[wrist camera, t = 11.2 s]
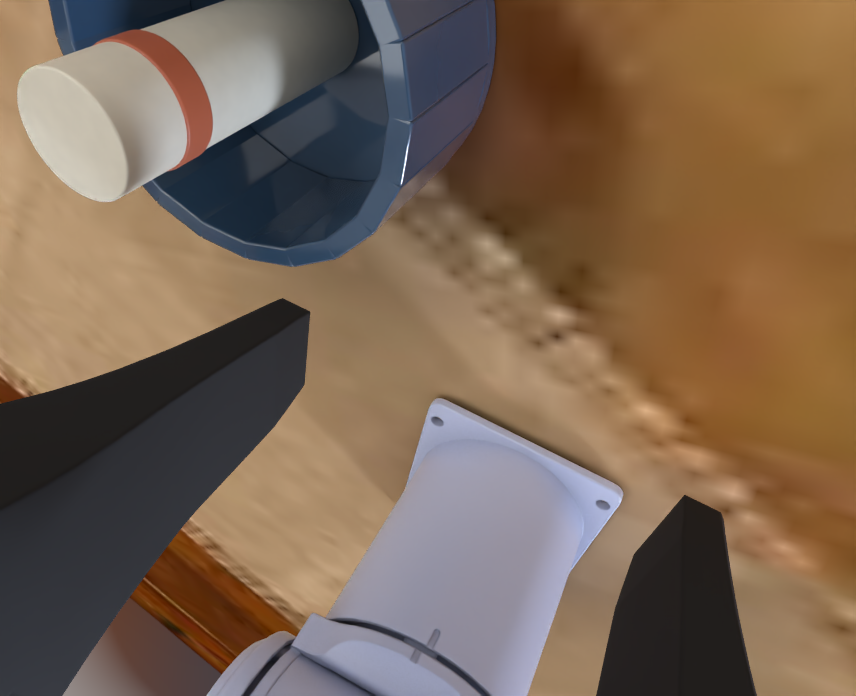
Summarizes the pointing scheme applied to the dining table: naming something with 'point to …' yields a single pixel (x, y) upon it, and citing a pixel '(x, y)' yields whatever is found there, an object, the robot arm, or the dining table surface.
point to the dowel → (178, 88)
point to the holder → (324, 128)
